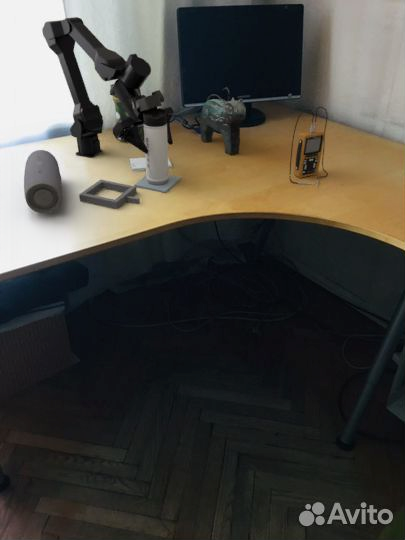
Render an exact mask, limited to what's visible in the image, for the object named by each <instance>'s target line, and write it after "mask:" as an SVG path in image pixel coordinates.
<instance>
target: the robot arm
mask: <svg viewBox="0 0 405 540" xmlns="http://www.w3.org/2000/svg"><path fill="white" fill-rule="evenodd" d="M41 30H42V31H41V32H42V36H43V38H44V40H45V41H46V43H47V46H48V47H49V49H50V50H51V51H52V52H53V53H54V54H55V55H56V56H57V58H58V60H59V63H60V67H61V69H62V73H63V76H64V78H65V81H66V84H67V87H68V90H69V93H70V97H71V98H72V102H73V105H74V106H73V112H72V118H73V123H72V125H71V127H70V129H69V131H70V135H71V137H73V138H76V144H77V149H78V151H77V152H75V155H76V156H80V157H81V156H82V157H88V158H94V157H95V156H97V155H100V154H101V153H102V152H103V149H101V142H100V141H101V140H100V139H99V134H102V133H103V127H104V119H103V115H102V112H101V110H100V106H99V105H98V104H94V103H93V101H91V99H90V96H89V93H88V90H87V87H86V84H85V81H84V78H83V76H82V72H81V69H80V66H79V63H78V60H77V57H76V55H75V45H76V44H77V45H78V46H79V47H80V48H81V50H82V51H84V53H85V54H86V55H88V57H89V58H90V59H91V60H92V62H93V64H94V65H93V66H94V70H95V71H96V73H97V74H98V76H99V77H100V78H101V80H102V81H103V82H110V81H115V82H114V83H112V84H110V90H109V95H110V96H112V95H115V94H116V96H117V97H118V99H119V101H120V102H121V104H122V106H123V109H122V112H123V113H127V114H128V116H129V117H126V118H122V119H119V120H118V122H117V123H116V122H115V125H114V126H113V127H112V135H113V136H114V138H115V140H118V139H119V138H121V140H125V141H127V142H126V143H129V144H130V145H132V146H134V148H137V149H138V150H139V151H141V152H143V153H144V155H145V154H147V153H148V152H149V151H148V149H147V147H146V145H145V141H144V140H143V138H141V136H140V135H139V132H138V127H139V126H143V127H144V118H143V112H144V111H145V110H148V109H151V108H154V107H157V108H158V109H162V110H164V111H166V115H167V143H168V145H170V146H172V145H173V144H174V142H173V137H172V132H171V131H172V130H171V120H172V119H173V115H174V114H175V111H174V109H173V108H172V107H171V106H170V105H165V106H163V105H162V103H164V102H165V96H164V94H163V92H162V91H161V90H160V89H159V90H155V91H151V94H150V95H147V96H146V95H144V94H141V95H140V94H139V92H138V90H137V89H139V88H140V89H141V87H142V86H143V85H144V83H145V82H146V80H147V79H148V78H149V76H150V75H151V72H152V68H151V65H150V64H149V62H147V61H146V60H145V59H143V58H142V57H139V56H138V55H137V53H130V54H129V55H128V57H127V60H125V58H124V57H123V56H121V54H119V53H118V52H117V51H114V50H112V49H109V48H108V47H107V46H104V44H103V43H102V42H101V41H100V40H99V39H98V38H97V36H96V35H94V33H93V32H92V31H91V30H90V28H88V27H87V26H86V25H85V22H84V21H83V19H82V18H80V17H78V16H74V17H73V16H72V17H66V18H64V19H60V20H52V21H51V20H50V21H49V20H48V21H45V22H44V25H43V27H42V29H41ZM162 106H163V107H162Z"/></svg>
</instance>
